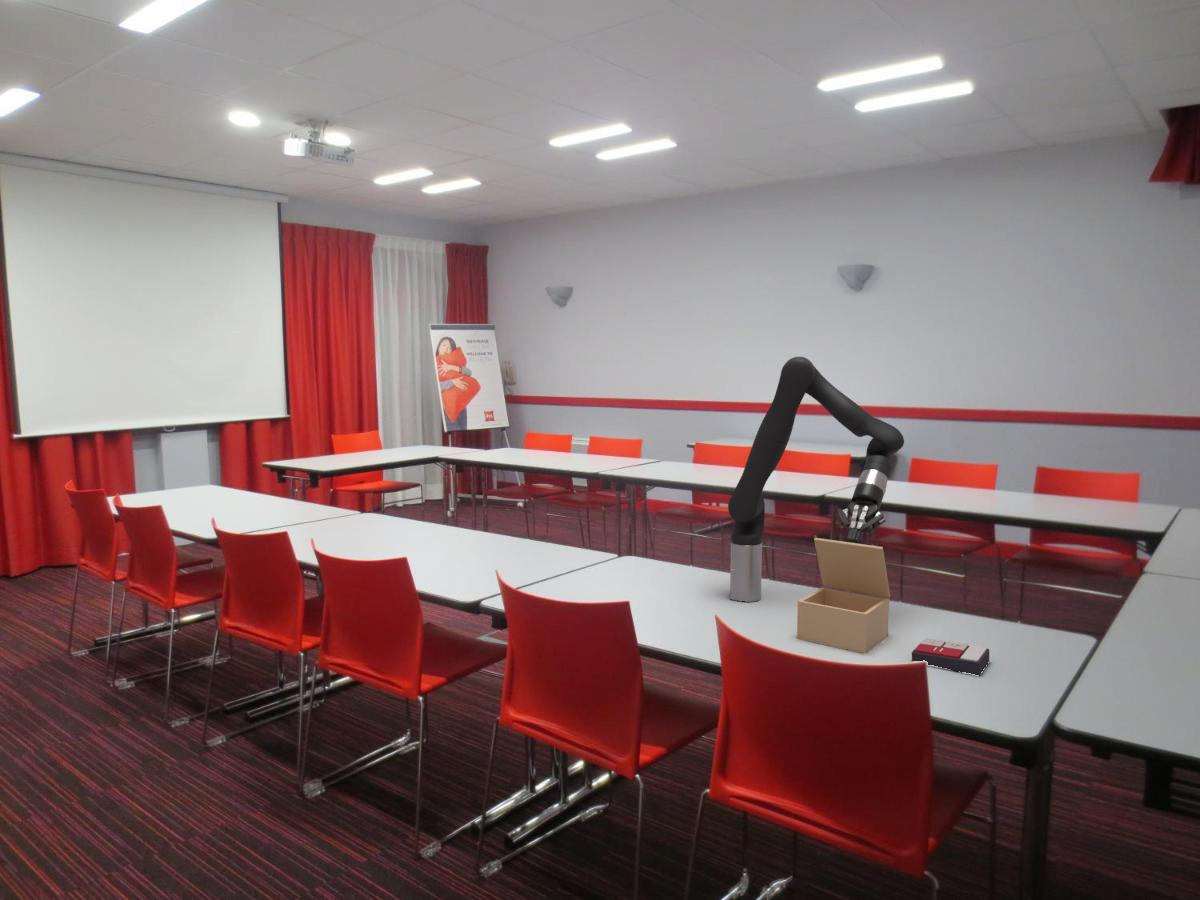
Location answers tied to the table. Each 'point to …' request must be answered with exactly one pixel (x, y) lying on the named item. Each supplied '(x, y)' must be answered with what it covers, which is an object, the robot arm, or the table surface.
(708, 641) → the table surface
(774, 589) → the table surface
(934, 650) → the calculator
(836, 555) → the lid
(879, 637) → the box
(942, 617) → the table surface
